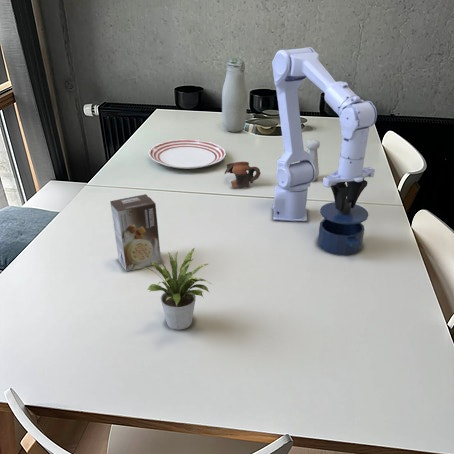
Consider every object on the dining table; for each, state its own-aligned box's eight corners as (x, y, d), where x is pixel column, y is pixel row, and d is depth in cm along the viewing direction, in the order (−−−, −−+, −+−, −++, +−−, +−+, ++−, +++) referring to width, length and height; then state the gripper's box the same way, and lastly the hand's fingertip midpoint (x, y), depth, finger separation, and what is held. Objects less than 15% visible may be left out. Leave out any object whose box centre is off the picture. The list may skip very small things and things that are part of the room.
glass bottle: (220, 134, 212) (220, 60, 196) (224, 126, 220) (225, 55, 204) (244, 135, 210) (246, 61, 195) (247, 128, 219) (249, 56, 203)
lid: (331, 229, 125) (333, 213, 123) (312, 208, 135) (314, 193, 132) (376, 223, 128) (379, 208, 125) (354, 203, 137) (356, 188, 135)
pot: (332, 263, 128) (335, 243, 125) (307, 232, 141) (309, 214, 138) (373, 257, 130) (377, 238, 127) (345, 227, 144) (347, 210, 141)
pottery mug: (222, 189, 166) (219, 163, 165) (232, 191, 175) (229, 167, 174) (258, 184, 162) (255, 157, 161) (266, 187, 171) (264, 161, 170)
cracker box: (152, 251, 132) (147, 193, 123) (161, 263, 127) (157, 203, 118) (117, 260, 128) (109, 200, 119) (125, 272, 124) (118, 211, 115)
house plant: (150, 354, 99) (144, 283, 90) (132, 314, 110) (124, 247, 101) (219, 336, 104) (219, 266, 95) (195, 299, 115) (193, 233, 105)
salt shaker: (317, 183, 170) (321, 144, 162) (300, 181, 171) (303, 142, 163) (318, 176, 174) (322, 138, 167) (301, 175, 175) (305, 137, 168)
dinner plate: (239, 156, 190) (240, 147, 188) (196, 180, 171) (196, 171, 169) (179, 142, 202) (179, 134, 200) (133, 164, 183) (132, 154, 181)
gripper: (339, 166, 117) (332, 220, 124) (387, 155, 123) (377, 208, 130) (319, 156, 122) (314, 209, 129) (366, 146, 128) (358, 197, 135)
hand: (344, 208), depth 130 cm, fingers closed on lid, 3 cm apart
